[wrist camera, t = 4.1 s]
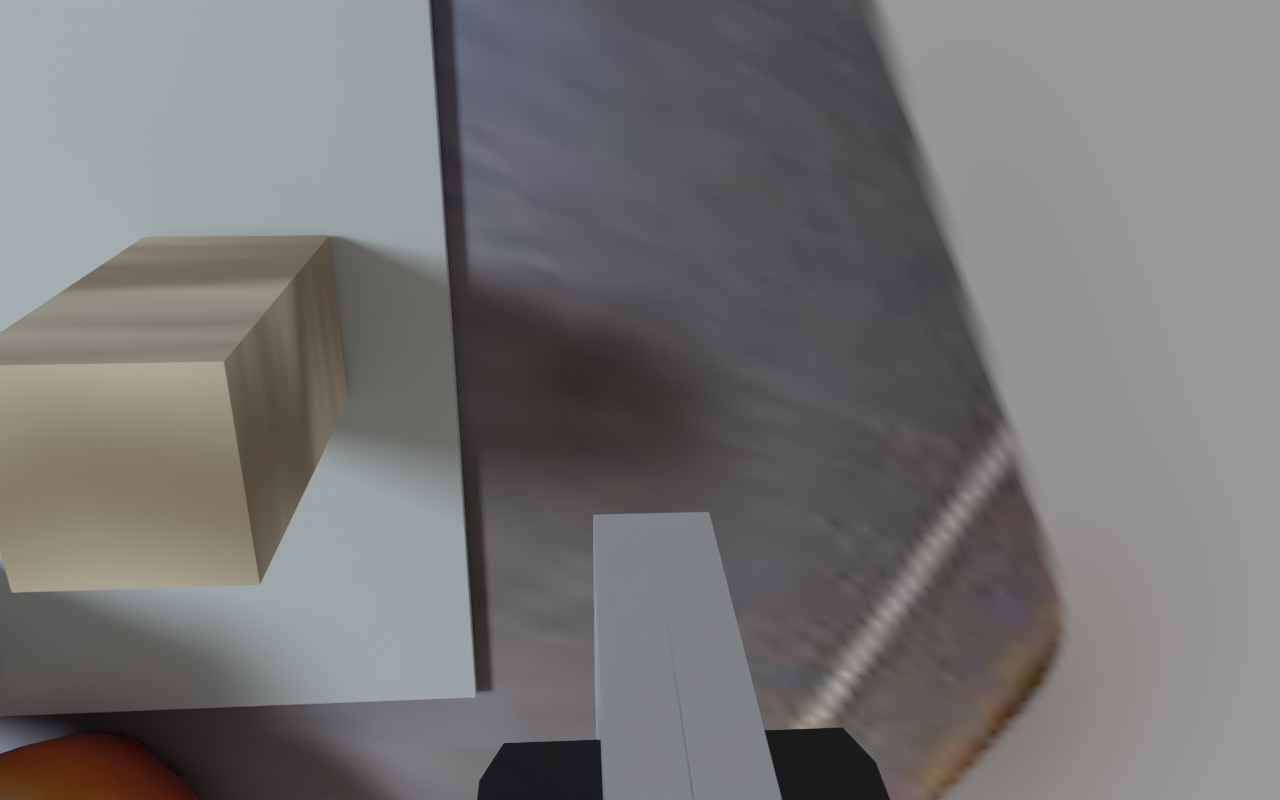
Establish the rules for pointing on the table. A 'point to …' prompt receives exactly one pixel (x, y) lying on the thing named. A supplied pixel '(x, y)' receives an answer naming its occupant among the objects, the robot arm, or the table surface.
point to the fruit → (88, 771)
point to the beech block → (168, 414)
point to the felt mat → (368, 318)
